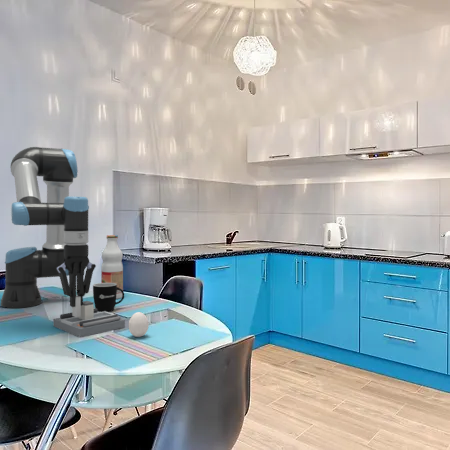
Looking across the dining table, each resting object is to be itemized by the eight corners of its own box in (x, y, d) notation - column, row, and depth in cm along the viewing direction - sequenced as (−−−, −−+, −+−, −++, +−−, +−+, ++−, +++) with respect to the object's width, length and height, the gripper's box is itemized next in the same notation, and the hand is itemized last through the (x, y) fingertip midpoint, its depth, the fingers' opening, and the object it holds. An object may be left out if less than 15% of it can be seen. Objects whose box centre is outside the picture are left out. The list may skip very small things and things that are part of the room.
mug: (95, 313, 160) (95, 287, 160) (91, 309, 168) (91, 283, 168) (126, 310, 165) (127, 284, 165) (121, 306, 173) (121, 281, 173)
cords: (83, 327, 131) (83, 322, 131) (60, 318, 142) (60, 314, 142) (120, 320, 141) (120, 315, 141) (96, 312, 152) (96, 307, 152)
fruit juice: (122, 299, 187) (122, 235, 186) (100, 300, 185) (99, 235, 184) (123, 295, 196) (123, 234, 195) (102, 295, 194) (102, 234, 194)
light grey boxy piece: (79, 318, 141) (79, 302, 141) (87, 317, 144) (87, 300, 143) (85, 320, 139) (85, 303, 139) (93, 319, 141) (93, 302, 141)
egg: (131, 333, 134) (131, 309, 134) (150, 334, 134) (150, 310, 134) (126, 339, 128) (126, 314, 128) (146, 339, 128) (146, 314, 128)
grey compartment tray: (53, 326, 142) (53, 316, 142) (96, 317, 154) (96, 308, 154) (79, 337, 130) (79, 326, 130) (125, 327, 142) (125, 317, 142)
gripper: (62, 245, 131) (62, 321, 131) (100, 243, 140) (100, 314, 141) (51, 244, 136) (51, 317, 136) (88, 242, 145) (89, 311, 146)
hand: (76, 316), depth 139 cm, fingers closed
